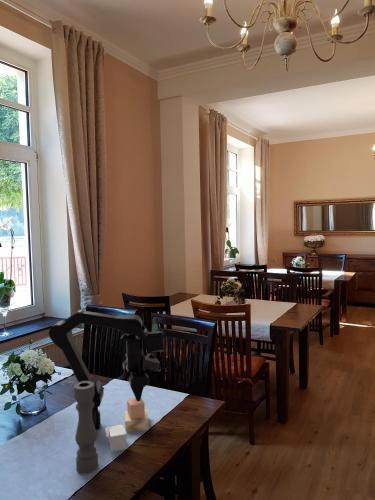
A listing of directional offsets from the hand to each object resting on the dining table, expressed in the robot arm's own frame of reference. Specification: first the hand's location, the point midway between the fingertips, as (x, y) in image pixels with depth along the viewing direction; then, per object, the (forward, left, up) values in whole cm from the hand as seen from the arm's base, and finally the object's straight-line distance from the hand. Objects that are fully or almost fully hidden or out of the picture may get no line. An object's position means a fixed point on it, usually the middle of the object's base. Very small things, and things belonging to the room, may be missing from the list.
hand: (136, 395), depth 138 cm
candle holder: (-18, -19, -11) cm, 28 cm away
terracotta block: (0, 0, -7) cm, 7 cm away
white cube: (-8, -11, -11) cm, 17 cm away
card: (-8, -2, -11) cm, 14 cm away
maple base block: (0, 0, -11) cm, 11 cm away
